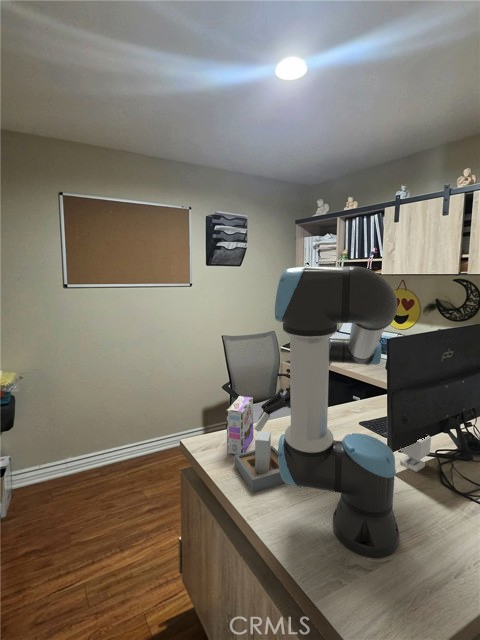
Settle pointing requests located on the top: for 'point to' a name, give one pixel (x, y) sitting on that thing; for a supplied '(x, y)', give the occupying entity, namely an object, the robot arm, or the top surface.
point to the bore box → (252, 479)
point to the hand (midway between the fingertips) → (269, 439)
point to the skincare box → (262, 452)
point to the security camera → (416, 454)
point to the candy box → (239, 425)
